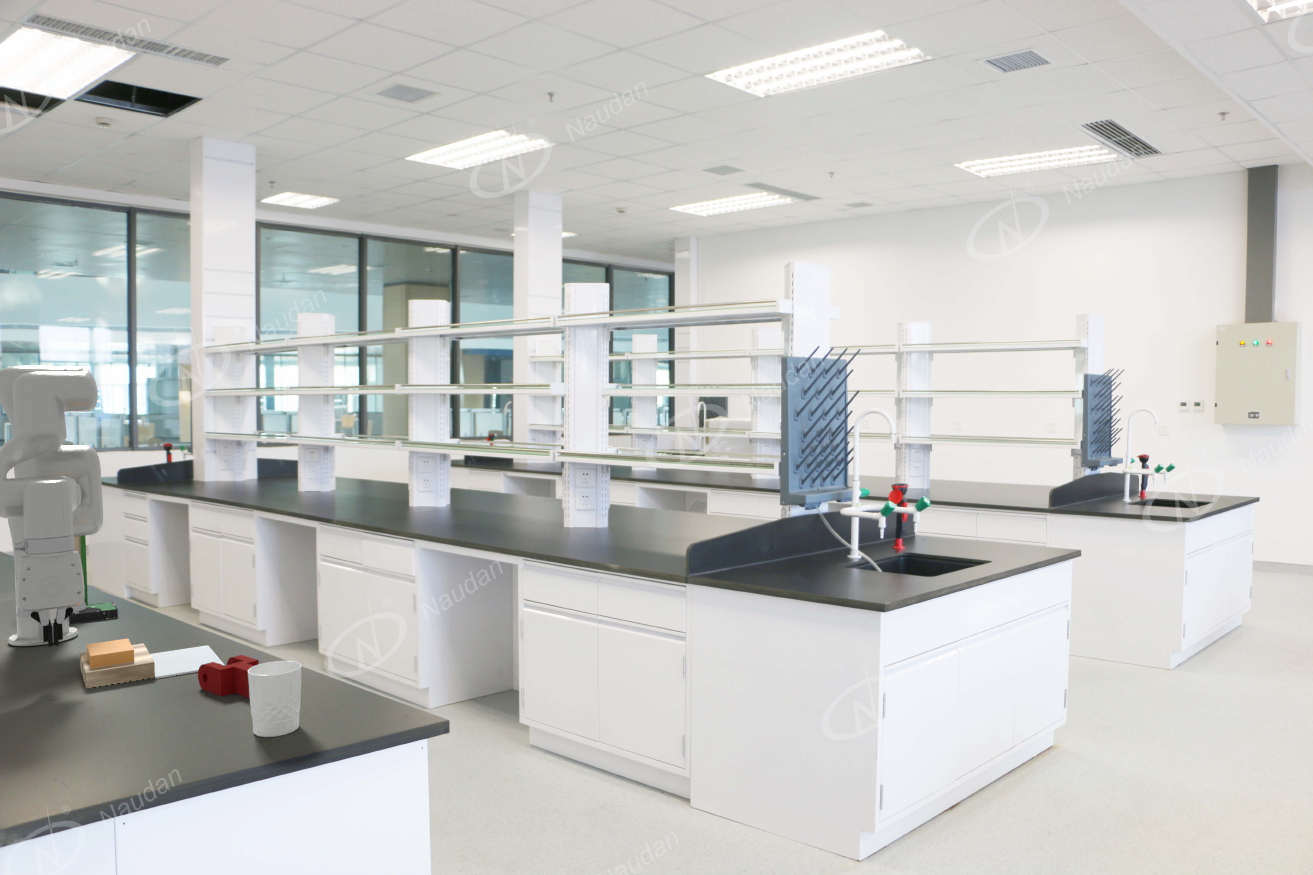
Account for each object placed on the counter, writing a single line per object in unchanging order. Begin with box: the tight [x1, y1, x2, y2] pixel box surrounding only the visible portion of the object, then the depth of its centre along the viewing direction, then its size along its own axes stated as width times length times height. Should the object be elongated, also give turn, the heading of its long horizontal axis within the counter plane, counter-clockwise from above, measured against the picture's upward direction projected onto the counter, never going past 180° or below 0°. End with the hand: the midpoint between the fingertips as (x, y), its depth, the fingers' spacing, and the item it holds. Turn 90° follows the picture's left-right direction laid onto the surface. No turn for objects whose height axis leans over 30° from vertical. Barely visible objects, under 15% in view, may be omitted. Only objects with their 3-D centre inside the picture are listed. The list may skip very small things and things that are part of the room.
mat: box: [150, 645, 225, 680], centre depth 180 cm, size 18×12×1 cm, turn 36°
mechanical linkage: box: [197, 654, 260, 699], centre depth 162 cm, size 16×7×5 cm, turn 54°
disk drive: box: [69, 601, 119, 625], centre depth 217 cm, size 10×3×15 cm
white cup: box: [248, 660, 302, 738], centre depth 143 cm, size 8×8×10 cm
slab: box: [86, 638, 134, 668], centre depth 172 cm, size 10×7×2 cm
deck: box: [79, 643, 155, 690], centre depth 173 cm, size 16×11×3 cm
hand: (53, 644), depth 166 cm, fingers closed
